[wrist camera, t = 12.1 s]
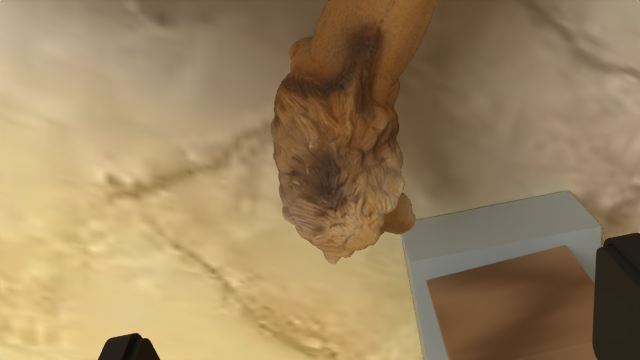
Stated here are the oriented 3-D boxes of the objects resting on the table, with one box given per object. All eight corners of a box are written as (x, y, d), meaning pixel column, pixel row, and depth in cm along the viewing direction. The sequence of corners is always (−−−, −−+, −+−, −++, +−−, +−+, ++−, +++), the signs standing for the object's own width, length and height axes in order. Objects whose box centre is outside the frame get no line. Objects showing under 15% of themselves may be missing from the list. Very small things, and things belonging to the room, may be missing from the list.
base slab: (568, 190, 23) (601, 226, 21) (566, 389, 30) (590, 435, 27) (399, 223, 24) (410, 262, 22) (432, 410, 31) (444, 457, 28)
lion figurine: (378, 165, 23) (414, 302, 15) (263, 137, 22) (236, 265, 14) (525, -232, 16) (733, -369, 8) (366, -291, 15) (426, -505, 7)
